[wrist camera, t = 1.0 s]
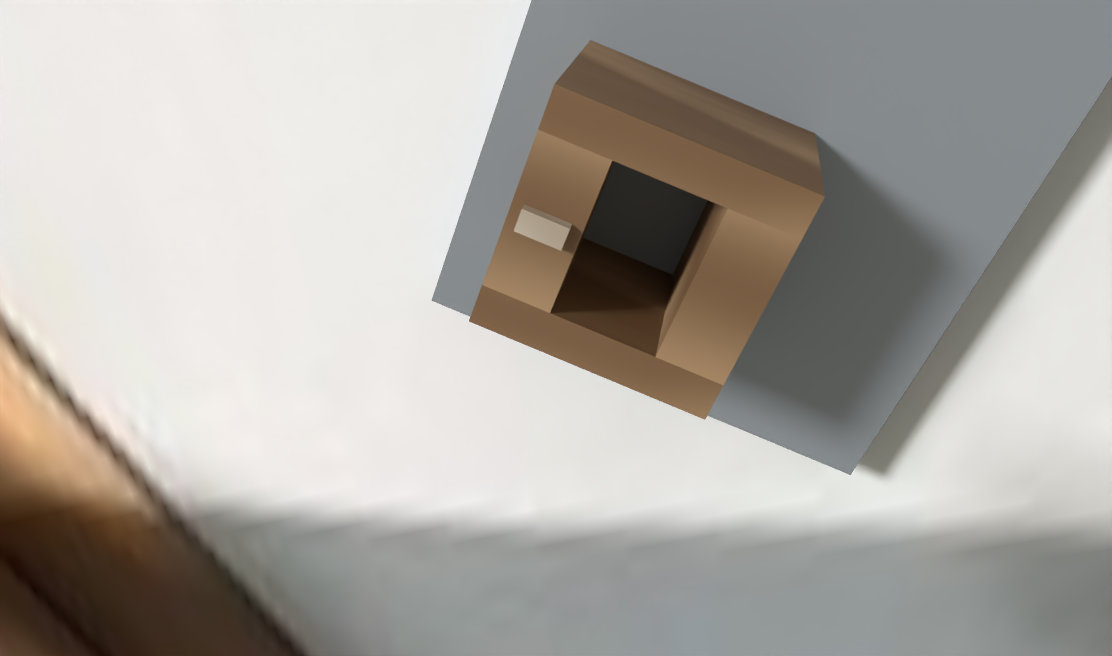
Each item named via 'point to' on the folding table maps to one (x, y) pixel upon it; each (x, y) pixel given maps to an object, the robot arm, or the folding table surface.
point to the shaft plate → (825, 174)
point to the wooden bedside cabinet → (623, 282)
